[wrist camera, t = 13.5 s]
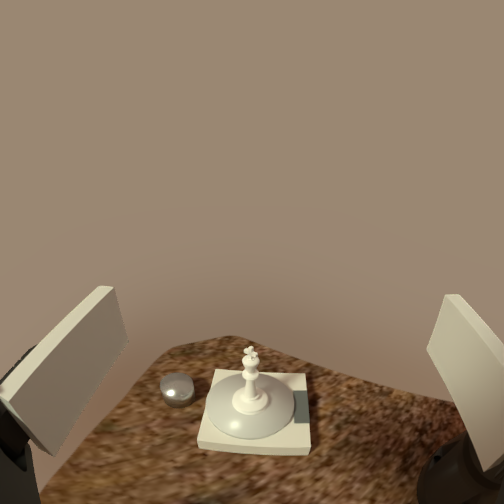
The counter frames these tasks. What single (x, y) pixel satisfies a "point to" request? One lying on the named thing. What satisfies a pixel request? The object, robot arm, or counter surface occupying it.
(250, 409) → the chess piece
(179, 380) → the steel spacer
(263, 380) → the scale
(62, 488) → the counter surface
